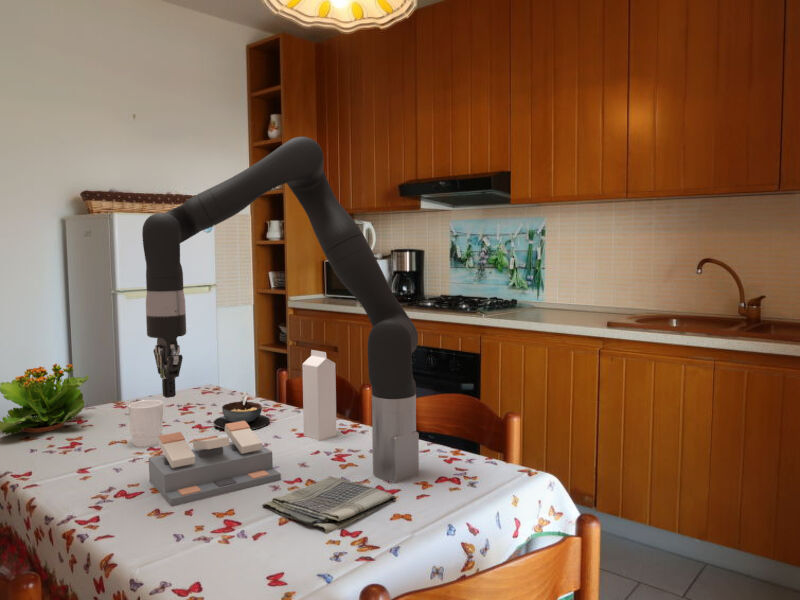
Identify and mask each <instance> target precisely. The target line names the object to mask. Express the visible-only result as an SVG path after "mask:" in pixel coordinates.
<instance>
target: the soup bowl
mask: <svg viewBox="0 0 800 600" xmlns="http://www.w3.org/2000/svg"><path fill="white" fill-rule="evenodd" d="M221 409H222V414H223V415H222V416H220V417H217V418H215V419H214V420H213V422H212V423H213V426H215V427H218V428H221V429H224V430H225V424H228V423H234V422H239V421H246V423H247V424H248V425H249V426H250V429H251V430H252V431H253V430H257V429H261V428H263V427H264V426H266V425H268V424H269V423H270V420H271V419H270V418H269V417H268V416H266V415H263V414H262V411H263V406H262V405H261V404H260V403H257V402H254V401H248V392H247V391H244V392H243V395H242V398H241V400H240V401H233V402H229V403H227V404H224V405H222V407H221Z"/></svg>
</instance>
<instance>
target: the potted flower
mask: <svg viewBox="0 0 800 600" xmlns="http://www.w3.org/2000/svg"><path fill="white" fill-rule="evenodd" d="M51 371H52V372H53V373H48V369H46V368H45V367H44V366H39V367H34V368H27V369H26V370H24V371H23V372H24V375H19V376H15V377H14V379H13V380H11V382H9V381H6V382H4V381H2V382H0V394H2V397H3V398H4V399H6V400H7V401H11V402H13V403H15V404H16V405H18V406H20V407H12V408H10V410H7V415H6V416H3V417H2V421H1V420H0V433H2V434H4V433H5V435H9V434H10V435H15V434H19V432H20V431H23V432H25V433H28V434H29V433H35V434H36V433H44V432H49V431H55V430H58V429H60V428H62V427H63V426H64V424H65V422H68V421H71V420H72V419H73V418H74V417H76V416H77V415H79V414H80V413H81V412H83V409H84V408H85V404H86V402H85V400H84V399H83V398H84V394H83V393H82V391H81V389H80V388H79V387H80V386H82V385H84V383H86V382H87V381H88V380H89V379H90V377H89V375H88V374H85V375H84V376H83V377H80V376H78V377H75V376H71V377H70V375H71V372H73V371H74V365H73V364H69V363H68V364H66V365H65V368H64V367H63V368H62V366H61V365H60V364H57V363H55V364H53V365H52V368H51ZM65 372H66V373H67V374H68V377H67V378H63V377H65Z"/></svg>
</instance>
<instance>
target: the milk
mask: <svg viewBox="0 0 800 600" xmlns="http://www.w3.org/2000/svg"><path fill="white" fill-rule="evenodd" d="M327 356H328V355H327V352H325V351H322V350H321V351H320V350H316V349H314V350H313V349H311V351H310V356H309V357H308V358H307V359H306V360H305V361H304V362H303V363H302V367H301V368H302V401H303V402H302V403H303V404H302V407H303V408H302V409H303V410H302V411H303V436H304V437H305V438H309V439H312V440H315V441H323V440H325V439H328V438H331V437H335V436H337V391H336V390H337V388H336V387H337V384H336V383H337V381H336V362H334V361H332V360H331V359H329V358H327Z"/></svg>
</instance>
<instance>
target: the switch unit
mask: <svg viewBox="0 0 800 600" xmlns="http://www.w3.org/2000/svg"><path fill="white" fill-rule="evenodd" d="M229 444H230V445H228V446H223V447H218V448H213V449H193V448H190V449H191V450H192V452H193V454H194V455H195V463H194V464H190V465H185V466H180V467H175V468H172V467H171V465H170V464H169V462H168V460H167V458H166V456H165V455H164V454H162V455H161V454H160V455H156V456H151V457H148V474H149V475H148V477H149V482H150V483H151V484H152V485H153V487H154V488H155V490H157V492H158V493H159V494H160V495H161V496H162V497H163V498H164V500H165V501H166V502H167V503H168V504H169V505H170V507H175V506H179V505H182V504H187V503H191V502H195V501H199V500H204V499H208V498H212V497H215V496H220V495H224V494H228V493H231V492H236V491H240V490H244V489H245V490H246V489H249V488H253V487H256V486H260V485H265V484H269V483H273V482H278V481H281V479H282V476H281V475H282V473H280V472H279V471H278V470H276V469H275V468H273V466H274V465H273V451H272V450H270V449H268V448H267V447H265V446H263V445H262V450H257V451H252V452H247V453H243V454H241V452H240V451H239V450H238V448H237V447H236V446H235V444H234V443H233V442H232V441H229Z"/></svg>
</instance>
